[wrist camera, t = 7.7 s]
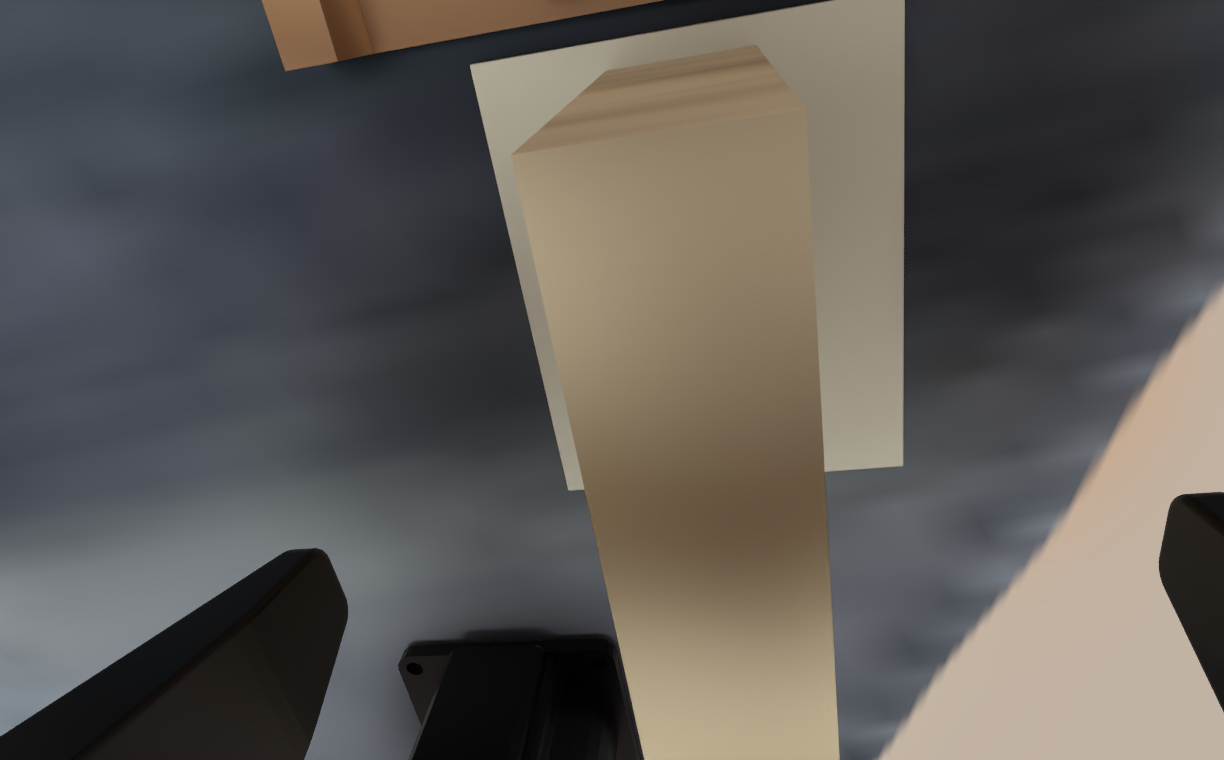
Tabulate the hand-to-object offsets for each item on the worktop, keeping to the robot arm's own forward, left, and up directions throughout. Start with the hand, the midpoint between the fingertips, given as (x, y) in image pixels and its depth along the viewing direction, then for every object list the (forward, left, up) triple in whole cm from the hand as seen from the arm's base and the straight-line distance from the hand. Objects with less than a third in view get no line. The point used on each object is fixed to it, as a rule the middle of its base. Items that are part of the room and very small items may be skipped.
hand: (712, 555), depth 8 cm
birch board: (0, 0, -9) cm, 9 cm away
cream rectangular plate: (0, 0, -9) cm, 9 cm away
